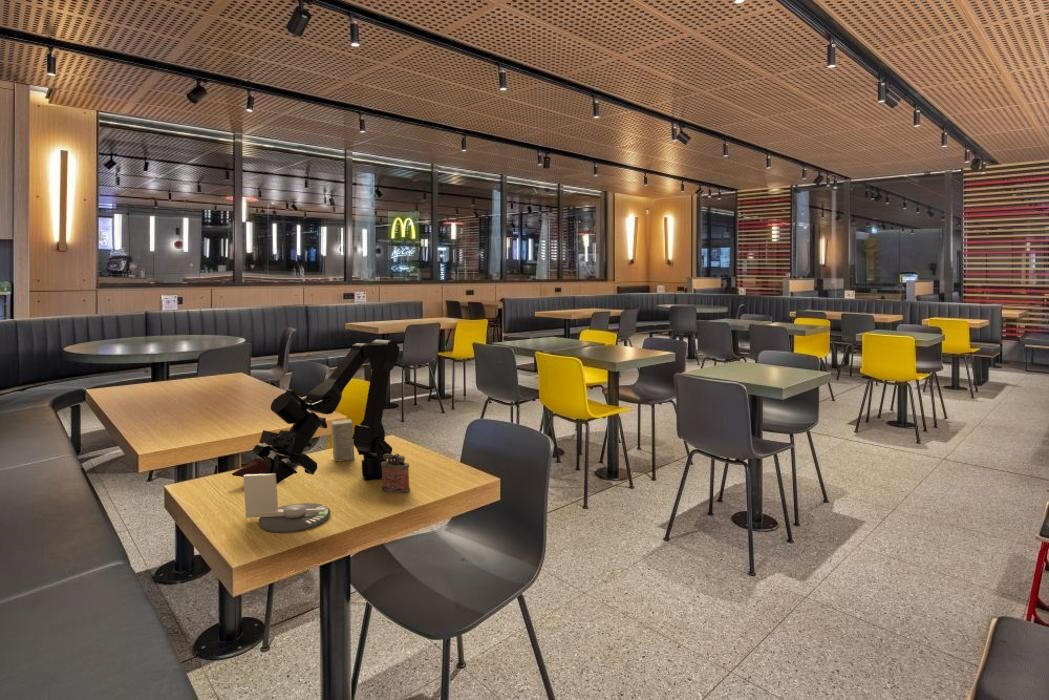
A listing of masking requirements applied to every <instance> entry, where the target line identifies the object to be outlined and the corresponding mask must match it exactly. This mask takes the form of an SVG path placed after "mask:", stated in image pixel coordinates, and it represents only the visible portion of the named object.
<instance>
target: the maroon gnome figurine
mask: <svg viewBox="0 0 1049 700" xmlns="http://www.w3.org/2000/svg"><path fill="white" fill-rule="evenodd" d="M266 472H267V462H265V461H264V460H263V459H261V458H260V457H254V459H253V460H251V461H250V462H249V464H247V465H245V466H243V467H242V468H240V469H238V470H236V471H234V472H232V473H231V475H232V476H234V477H241V478H243V476H244V475H245V474H266Z"/></svg>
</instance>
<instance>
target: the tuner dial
mask: <svg viewBox="0 0 1049 700" xmlns="http://www.w3.org/2000/svg"><path fill="white" fill-rule="evenodd" d="M298 504H299V505H305V506H306V509H319V508H325V512H306V514H305V515H303V516H301V517H298V518H286V517H284V516H273V517H258V518H259V519H258V527H259V528H260V529H261V530H262V531H265V532H269V533H275V534H276V533H277V534H287V533H288V534H289V533H298V532H303V531H307V530H310V528H311V529H314V528H317V527H319V526H321V525H322V524H324V523H326V522H328V520H329V519H330V518H331V509H330V508H329V507H328V506H326V505H324V504H319V503H315V502H314V503H312V502H307V503H306V502H305V503H304V502H303V503H301V502H300V503H292V504H288V505H283V506H278V509H284V508H286V507H288V506H291V505H298ZM316 526H317V527H316ZM306 529H307V530H306Z"/></svg>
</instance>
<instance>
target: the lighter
mask: <svg viewBox="0 0 1049 700" xmlns="http://www.w3.org/2000/svg"><path fill="white" fill-rule="evenodd" d="M405 458H406V457H405V455H400V454H399V453H395V454H393V453H391V454H384V455H383V459H387V461H384V462H382V463H381V466H382V478H381V479H382V481H381V482H382V486H381V490H383V492H387V493H391V494H392V493H393V494H409V493H410V492H411V488H410V470H409V468H410V463H408V462H405ZM408 492H409V493H408Z"/></svg>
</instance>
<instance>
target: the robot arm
mask: <svg viewBox="0 0 1049 700" xmlns="http://www.w3.org/2000/svg"><path fill="white" fill-rule="evenodd" d="M399 355H400V346H399V345H398V343H397V342H396V341H394V340H388V339H387V340H385V339H375V340H373V341H372V342H370V343H369V342H367V343H366V342H365V343H359V342H358V343H354V344H352V345H351V348H350V350H349V351H348V353H347V354H346V355H345V357H344V358H343V359H342V360H341V361H340V362H339V364H338V366H336V368H335V369H334V371H333V372H332V373H331V374H330V376H329V377H328V378H327V379H325V381H324V382H321V383H319V384H317V385H316V386H314V388H313V389H312V390H310V392H308V394H307V395H306V396H303V397H300V396H299V395H298V394H297V392H296V391H295V390H292V389H289V388H288V389H286V391H285V392H284V393H281V394H280V395H278V396H277V397H276V398H274V399H273V400H272V402H271V404H270V411H272V413H274V414H275V415H276V416H277V417H279V418H280V419H282V421H284V422H285V423H286V424H287V425H292V426H291V427H290V429H289V430H286V429H285V430H283V429H281V430H280V431H279V432H273V431H268V430H266V429H265V430H262V432H261V435H260V438H259V441H258V443H257V444H255V445H254V447H253V448H252V450H251V452H252V453H253V454H255V455H256V456H257V457H258V458H261V459H263V460H264V461H265V462H267V472H266V474H271V473H276V483H277V484H279V483H281V482H283V481H284V480H286V479H287V478H289V477H290V476H292V475H294V474H295V475H296V474H297V473H298V471H297V469H298V467H301V468H303V469H304V473H305V474H309V475H312V476H314V475H315V473H316V471H317V469H318V462H316V461H315V460H314V459H312V458H311V457H310V456H308V455H307V454H306V453H304V451H305V450H306V448H308V449H310V448H311V447H312V446H313V445H312V443H311V440H312V439H313V437H314V435H315V434H316V433H317V431H318V429H319V428H321V429H324V430H326V429H327V428H328V424H327V418H326V417H323V416H319V415H317V414H322V415H332V414H333V413H334V412H335V411H336V410H337V408H338V406H339V404H340V402H341V401H342V398H343V396H342V394H343V391H344V390H345V388H346V386H347V385H348V384H349V383H350V381H351V380H352V379H353V377H354V376H355V375H356V374H357V373H358V371H359V369H361V367H363V365H364V363H365V362H366V360H367V359H368V361H369V365H370V369H371V374H370V378H369V379H370V380H369V386H368V392H367V398H366V403H365V404H366V405H365V409H364V416H363V420H362V421H361V422H360V424H355V425H354V426H353V437H352V439H353V440H354V442H353V443H354V448H355V449H356V451H357V453H358V455H359V456H363V459H362V460H361V474H362V477H364V480H365V481H368V480H377V479H382V466H381V463H382V462H384V461H388V459H383V455H384V454H393V453H392V452H393V447H392V446H391V445H390V444H389V443H388V442H387V441H386V439H385V438H386V431H385V428H384V426H383V423H382V419H383V415H384V414H383V413H384V407H385V403H386V402H385V401H386V395H387V389H388V385H389V384H388V383H389V378H390V373H391V371H392V369H393V368H394V367H395V366H396V365H397V362H398V359H399Z"/></svg>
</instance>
